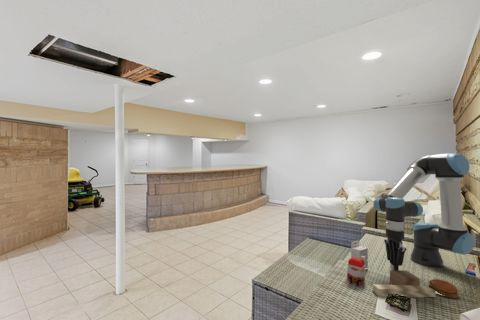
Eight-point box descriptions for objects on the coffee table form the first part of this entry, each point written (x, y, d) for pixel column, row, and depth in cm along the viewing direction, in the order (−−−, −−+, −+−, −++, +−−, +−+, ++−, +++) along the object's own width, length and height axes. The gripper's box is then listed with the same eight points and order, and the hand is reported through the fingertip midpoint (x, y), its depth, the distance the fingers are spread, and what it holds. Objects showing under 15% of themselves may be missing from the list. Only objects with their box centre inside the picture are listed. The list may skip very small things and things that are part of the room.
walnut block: (406, 283, 106) (406, 270, 107) (420, 292, 98) (419, 278, 99) (389, 282, 107) (389, 270, 107) (401, 291, 99) (401, 278, 99)
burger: (464, 299, 94) (463, 288, 94) (441, 298, 94) (441, 287, 94) (443, 287, 104) (443, 277, 104) (423, 286, 104) (422, 276, 104)
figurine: (344, 281, 107) (344, 256, 108) (349, 276, 112) (349, 252, 113) (364, 287, 101) (363, 261, 102) (368, 282, 107) (368, 257, 107)
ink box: (360, 272, 117) (359, 244, 118) (350, 269, 121) (350, 241, 122) (368, 269, 122) (367, 242, 123) (359, 266, 126) (358, 239, 127)
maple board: (427, 292, 98) (427, 285, 99) (435, 297, 94) (435, 290, 95) (373, 291, 99) (373, 284, 99) (378, 296, 95) (378, 288, 95)
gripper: (379, 225, 116) (378, 271, 115) (396, 232, 103) (395, 284, 102) (393, 226, 116) (393, 272, 115) (412, 233, 103) (412, 284, 102)
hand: (394, 277), depth 109 cm, fingers closed
